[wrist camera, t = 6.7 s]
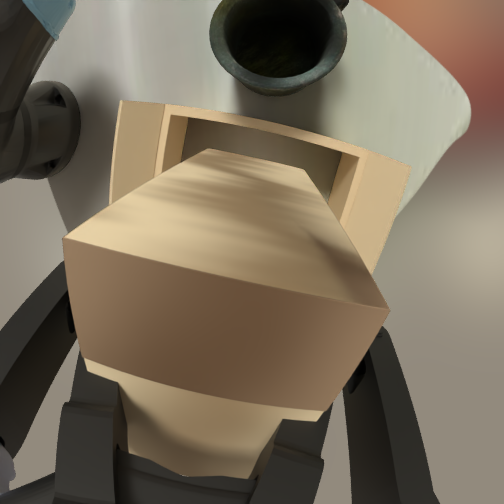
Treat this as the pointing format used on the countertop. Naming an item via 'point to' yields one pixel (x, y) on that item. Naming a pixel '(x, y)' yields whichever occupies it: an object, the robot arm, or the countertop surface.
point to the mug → (278, 42)
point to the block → (220, 308)
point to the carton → (352, 159)
